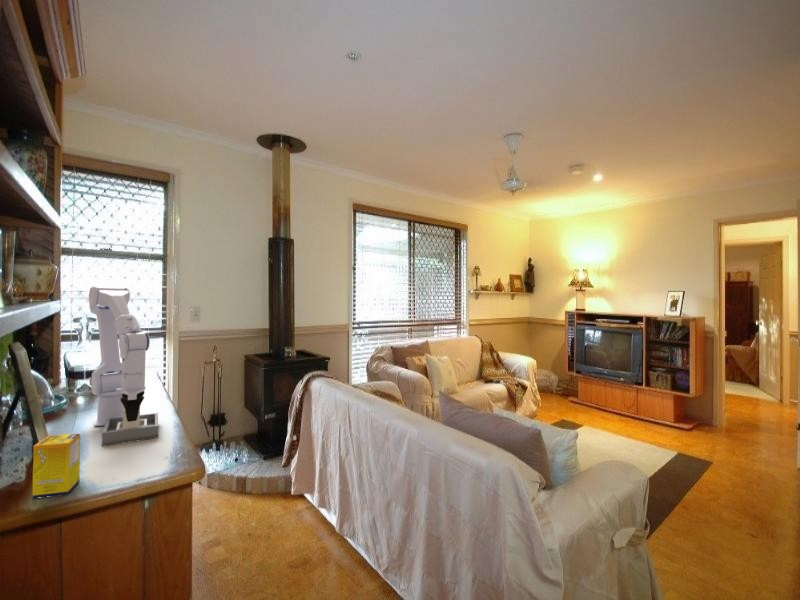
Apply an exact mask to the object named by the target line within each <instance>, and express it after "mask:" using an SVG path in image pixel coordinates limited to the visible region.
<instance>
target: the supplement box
mask: <svg viewBox="0 0 800 600" xmlns="http://www.w3.org/2000/svg"><path fill="white" fill-rule="evenodd" d="M32 449H33V453H32V454H33V455H32V457H33V458H32V459H33V460H32V462H33V463H32V499H33V498H38V497H47V496H56V497H60V496H59V495H63V496H68V495H69V494H70V493H72V492H71V491H73V490H74V489H75V487H76V486H77V485H78V484H80V475H81V474H80V472H81V471H80V470H81V469H80V468H81V467H80V466H81V433H79V432H78V433H70V434H67V433H66V434H56V435H55V434H54V435H53V434H52V435H47V436H46V437H44V438H43V439H41V440H40V441H38V442H37V443H35V444H34V445H33V448H32Z"/></svg>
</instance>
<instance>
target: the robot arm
mask: <svg viewBox="0 0 800 600" xmlns="http://www.w3.org/2000/svg"><path fill="white" fill-rule="evenodd" d="M130 293H131V292H130V289H129V288H128V287H127V286H111V285H109V286H107V285H106V286H105V285H96V284H95V285H92V286H91V287H90V289H89V292H88V304H89V306H88V307H89V309H90V310H89V311H90V313H92V314H94V315H96V318H97V324H98V325H97V326H98V338H99V347H100V359H101V364H100V366H98V367H97V368H96V369H94V370H93V371H92V373H91V380H90V381H91V382H90V388H91V392H92V393H93V394H94V395H95V396H97V407H96V408H97V411H96V413H97V414H96V416H97V417H96V420H95V423H94V425H93V427H102V426H105V423H106V420H107V419H110V418H119V417H123V409H124V408H125V412H126V417H127V421H128V422H129V421H136V420H137V417H138V412H139V408H140V409H141V404H142V402H143V401H144V399H145V396H144V395H145V390H146V382H145V381H146V351H148V350H149V349H150V345H151V344H150V343H151V342H150V339H151V338H150V336H149V333H148V332H147V331H145V329H142V327H141V326H140V324H139V322H138V320H137V318H136V316H135V315H133V314H130V313H131V312H130V310H129V306H128V305H129V301H130V298H131V294H130ZM118 337H119V339H118Z"/></svg>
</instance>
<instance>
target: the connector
mask: <svg viewBox="0 0 800 600" xmlns="http://www.w3.org/2000/svg"><path fill="white" fill-rule="evenodd" d="M140 415H141V407H140V408H139V412H138V417H137V420H136V421H129V422H128V421H127V417H126V412H125V408H124V409H123V428H127V427H135V426H139V424H140Z"/></svg>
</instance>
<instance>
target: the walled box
mask: <svg viewBox="0 0 800 600" xmlns="http://www.w3.org/2000/svg"><path fill="white" fill-rule="evenodd" d="M159 425H160V424H159V414H158V412H155V413H146V414H140V424H139V426H135V427H127V428H123V417H119V418H110V419H107V420H106V423H105V425H104V427H103V429H102V430H103V431H102V434H101V446H102V447H103V445H105V446H111V445H110V444H112V445H117V444H116V443H119V444H123V443H122V442H125V443H129V442H128V441H132V442H138V441H137V440H139V441H143V440H142V439H146V440H150V439H149V438H153V439H156V438H155V437H158V438H159Z"/></svg>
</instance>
